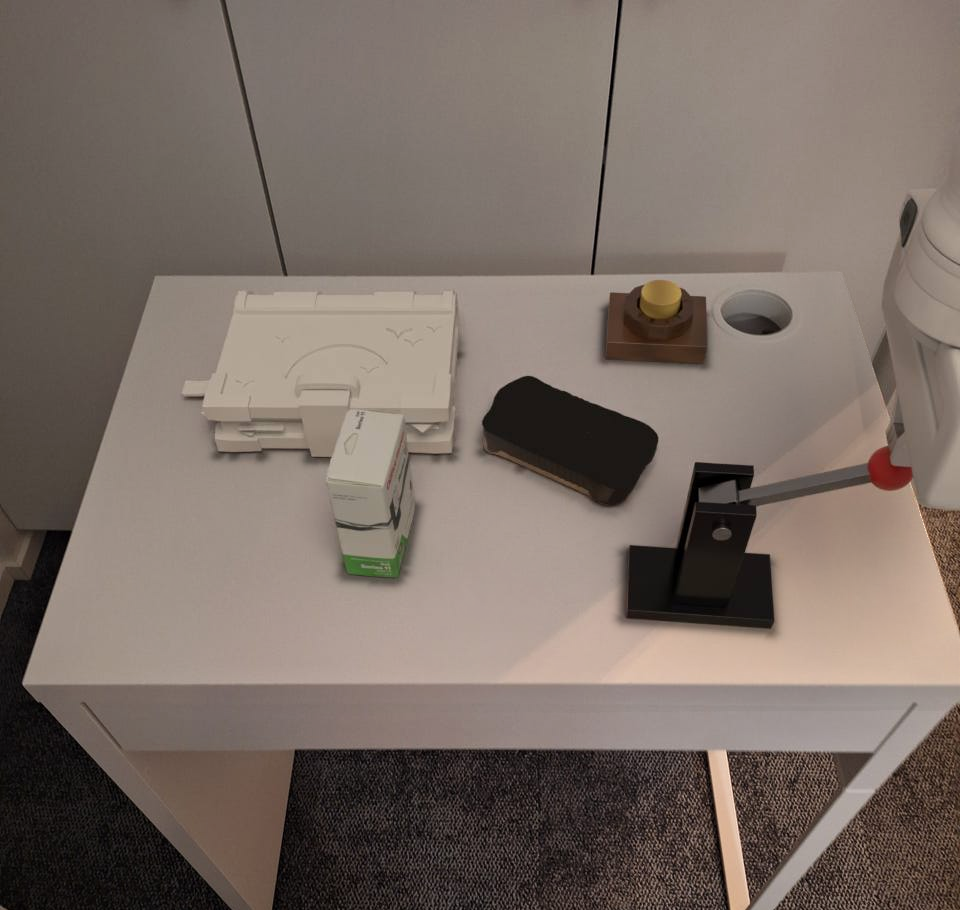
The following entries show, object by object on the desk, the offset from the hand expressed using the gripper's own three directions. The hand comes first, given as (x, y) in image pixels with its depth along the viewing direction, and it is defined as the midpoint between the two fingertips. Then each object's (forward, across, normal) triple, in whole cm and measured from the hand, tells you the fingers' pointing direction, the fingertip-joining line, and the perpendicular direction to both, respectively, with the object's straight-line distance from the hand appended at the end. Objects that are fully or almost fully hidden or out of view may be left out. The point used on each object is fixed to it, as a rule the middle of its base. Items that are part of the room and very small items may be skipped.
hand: (899, 451), depth 65 cm
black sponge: (+18, +15, +23) cm, 33 cm away
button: (+14, +33, +15) cm, 39 cm away
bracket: (+18, 0, +11) cm, 21 cm away
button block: (+18, +33, +15) cm, 40 cm away
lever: (+6, 0, +5) cm, 7 cm away
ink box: (+18, +3, +39) cm, 43 cm away
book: (+18, +21, +48) cm, 56 cm away
